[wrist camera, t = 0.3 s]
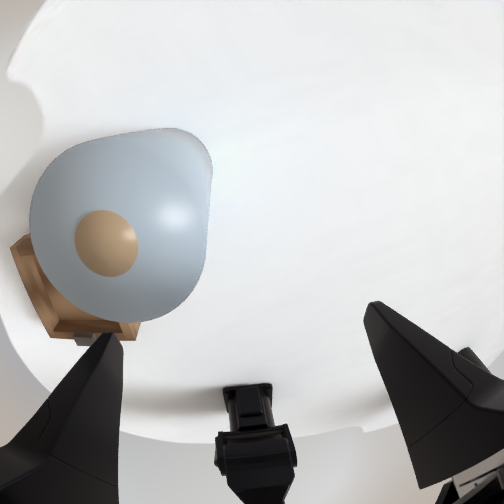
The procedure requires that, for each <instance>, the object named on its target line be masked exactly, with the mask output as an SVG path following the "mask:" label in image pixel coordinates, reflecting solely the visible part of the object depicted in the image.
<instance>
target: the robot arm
mask: <svg viewBox="0 0 504 504" xmlns="http://www.w3.org/2000/svg"><path fill="white" fill-rule="evenodd" d="M363 321H364V326H365V329H366V333H367V336H368V339H369V342H370V346H371V349H372V353H373V356H374V359H375V362H376V364H377V367H378V369H379V371H380V374H381V376H382V379H383V381H384V384H385V387H386V389H387V392H388V394H389V397H390V400H391V402H392V405H393V408H394V410H395V413H396V416H397V419H398V422H399V424H400V427H401V430H402V433H403V436H404V439H405V442H406V445H407V448H408V452H409V455H410V458H411V461H412V465H413V468H414V471H415V475H416V479H417V482H418V486H419V488H420V489H423V488H426V487H429V486H431V485H433V484H436V483H438V482H441V481H443V480H446V479H448V478H450V477H452V480H450V481H449V482H447V483H446V484H444V485H443V487H442V490H441V492H440V494H439V496H438V499H437V501H436V503H435V504H504V380H502V379H500V378H498V377H496V376H494V375H492V374H491V373H489V372H487V371H485V370H484V369H482V368H480V367H478V366H477V365H475V364H473V363H472V362H470V361H468V360H467V359H465V358H464V357H462V356H461V355H459V354H458V353H457V352H455V351H454V350H452V349H450V348H449V347H448V346H446V345H445V344H443V343H442V342H441V341H439V340H438V339H436V338H435V337H433V336H432V335H430V334H429V333H427V332H426V331H424V330H423V329H421V328H420V327H418V326H417V325H415V324H414V323H412V322H411V321H409V320H408V319H406V318H405V317H403V316H402V315H400V314H399V313H397V312H396V311H394V310H393V309H391V308H390V307H388V306H387V305H385V304H384V303H382V302H380V301H374V302H370V303H369V304H368V306H367V309H366V312H365V316H364V320H363ZM272 388H273V387H272V384H261V385H252V386H243V387H232V388H224V389H223V396H224V400H225V405H226V409H227V413H229V421H230V431H231V432H223V431H222V432H218V436H217V437H215V444H216V450H215V459H214V464H215V466H217V467H218V468H219V470H220V471H221V475H222V476H226V478H227V484H228V486H229V487H230V488H231V490H232V491H233V492H234V493H235V494H236V495H237V496H238V497H239V499H240V500H241V501H242V502H243V503H244V504H285V502H284V499H285V497H286V495H287V493H288V491H289V489H290V487H291V484H292V482H293V480H294V477H295V474H294V469H293V467H297V456H296V451H295V447H294V444H293V441H292V437H291V434H290V431H289V428H288V425H287V424H283V425H280V426H275V424H274V419H273V414H272V409H271V408H272ZM122 391H123V347H122V345H121V343H120V341H119V340H118V338H117V336H116V334H115V333H114V332H103V333H102V334H101V335H100V336H99V337H98V338H97V339H96V341H95V342H94V343H93V344H92V345H91V346H90V347H89V349H88V350H87V351H86V352H85V353H84V354H83V356H82V357H81V358H80V359H79V360H78V361H77V363H76V364H75V365H74V366H73V367H72V369H71V370H70V371H69V372H68V373H67V375H66V376H65V377H64V378H63V379H62V381H61V382H60V383H59V384H58V386H57V387H56V388H55V389H54V391H53V392H52V393H51V395H50V396H49V397H48V399H46V401H45V402H44V403H43V405H42V406H41V407H40V408H39V410H38V411H37V412H36V413H35V414H34V416H33V417H32V418H31V419H30V420H29V421H28V422H27V424H26V425H25V426H24V427H23V428H22V429H21V430H20V431H19V432H18V433H17V435H16V436H15V437H14V438H13V439H12V440H11V441H10V442H9V443H8V444H6V445H5V446H3V447H0V504H119V497H118V446H119V427H120V413H121V402H122Z"/></svg>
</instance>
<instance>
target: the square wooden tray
mask: <svg viewBox="0 0 504 504" xmlns="http://www.w3.org/2000/svg"><path fill="white" fill-rule="evenodd" d="M10 250H11V253H12V255H13V258H14V261H15V264H16V266H17V269H18V272H19V274H20V277H21V279H22V281H23V284H24V286H25V288H26V291H27V293H28V295H29V297H30V299H31V302H32V304H33V306H34V308H35V310H36V312H37V314H38V316H39V318H40V320H41V322H42V324H43V325H44V327H45V329H46V331H47V333H48V334H49V336H50V338H60V339H74V340H75V342H76V344H77V346H91V345H92V344H93V343H94V342H95V341H96V339H97V338H98V337H99V336H100V335H101V334H102V333H103V332H114V333H115V334H116V336H117V338H118V340H119V341H136V337H137V333H138V330H139V326H140V323H141V322H135V323H122V322H115V321H109V320H105V319H102V318H99V317H96V316H94V315H91V314H89V313H87V312H85V311H83V310H81V309H80V308H78V307H77V306H75V305H74V304H72V303H71V302H70V301H68V300H67V299H66V298H65V297H64V296H63V295H62V294H61V293H60V292H59V291H58V290H57V289H56V288H55V287H54V286H53V285H52V283H51V282H50V281H49V279H48V278H47V276H46V275H45V273H44V272H43V270H42V268H41V266H40V264H39V262H38V260H37V257H36V255H35V252H34V248H33V245H32V241H31V235H25V236H23V237H22V238H21V239H20V240H18V241H17V242H16V243H15V244H14V245H13V246H11V247H10Z"/></svg>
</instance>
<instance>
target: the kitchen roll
mask: <svg viewBox="0 0 504 504" xmlns="http://www.w3.org/2000/svg"><path fill="white" fill-rule="evenodd" d="M212 174H213V167H212V161H211V157H210V155H209V152H208V150H207V149H206V147H205V146H204V144H203V143H202V142H201V141H200V140H199V139H198V138H197V137H196V136H194V135H193V134H191V133H189V132H187V131H184V130H181V129H177V128H163V129H155V130H147V131H140V132H134V133H128V134H122V135H116V136H111V137H106V138H101V139H96V140H91V141H87V142H84V143H81V144H78V145H75V146H74V147H72V148H70V149H68V150H66V151H65V152H63V153H62V154H61V155H59V156H58V157H57V158H56V159H55V160H54V161H53V162H52V163H51V164H50V165H49V166H48V167H47V169H46V170H45V171H44V173H43V174H42V176H41V178H40V180H39V182H38V184H37V186H36V188H35V191H34V194H33V197H32V202H31V207H30V217H29V223H30V235H31V241H32V245H33V248H34V252H35V255H36V257H37V260H38V262H39V264H40V266H41V268H42V270H43V272H44V273H45V275H46V276H47V278H48V279H49V281H50V282H51V283H52V285H53V286H54V287H55V288H56V289H57V290H58V291H59V292H60V293H61V294H62V295H63V296H64V297H65V298H66V299H67V300H68V301H70V302H71V303H72V304H74V305H75V306H77V307H78V308H80V309H81V310H83V311H85V312H87V313H89V314H91V315H94V316H96V317H99V318H102V319H105V320H109V321H115V322H122V323H135V322H144V321H148V320H152V319H155V318H158V317H161V316H163V315H165V314H167V313H169V312H171V311H172V310H173V309H175V308H176V307H178V306H179V305H180V304H181V303H182V302H183V301H184V300H185V299H186V298H187V297H188V296H189V295H190V293H191V292H192V291H193V289H194V287H195V286H196V284H197V282H198V280H199V278H200V275H201V273H202V270H203V266H204V262H205V255H206V244H207V231H208V218H209V206H210V195H211V184H212Z"/></svg>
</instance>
